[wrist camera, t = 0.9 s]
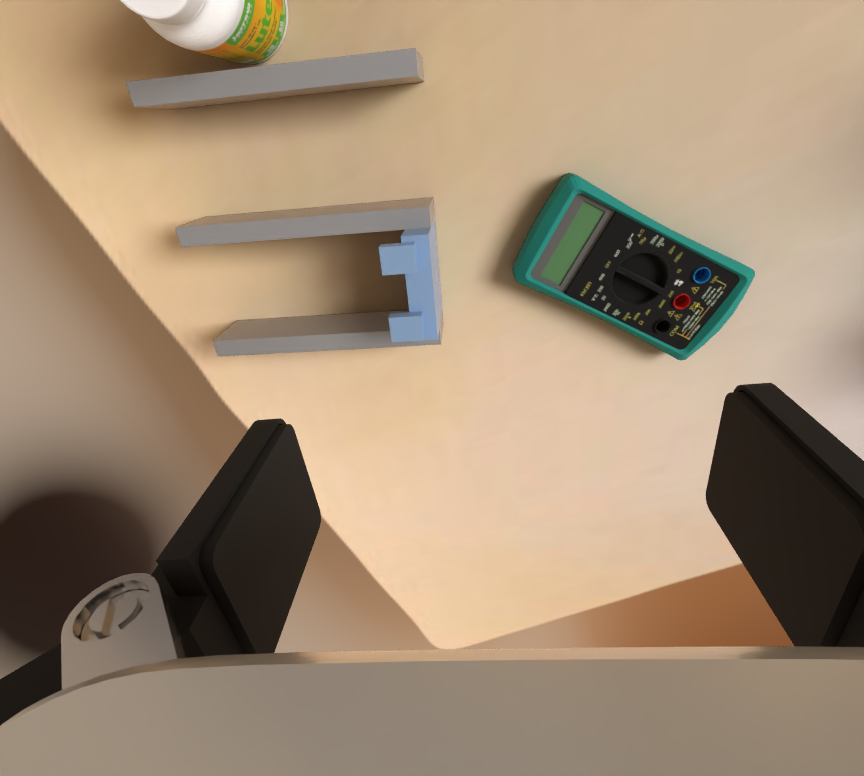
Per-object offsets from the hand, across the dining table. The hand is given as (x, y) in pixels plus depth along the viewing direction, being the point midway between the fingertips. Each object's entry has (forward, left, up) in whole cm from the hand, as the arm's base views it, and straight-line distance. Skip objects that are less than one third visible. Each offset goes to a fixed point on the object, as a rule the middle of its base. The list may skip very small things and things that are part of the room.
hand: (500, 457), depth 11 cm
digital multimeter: (+3, +10, -26) cm, 28 cm away
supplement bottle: (-13, -13, -25) cm, 31 cm away
